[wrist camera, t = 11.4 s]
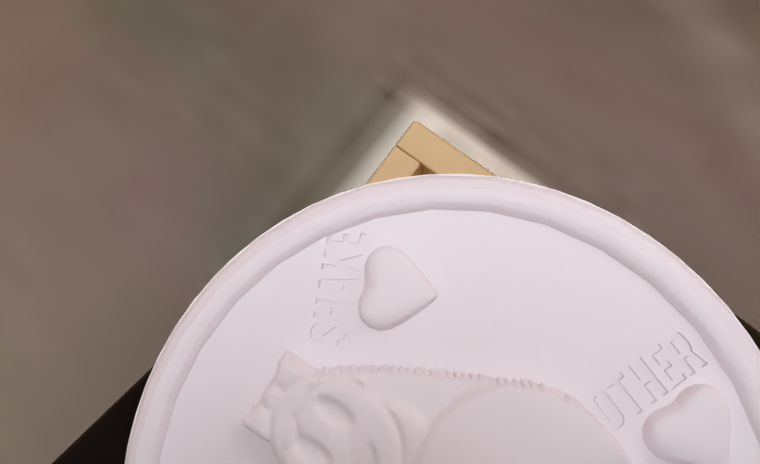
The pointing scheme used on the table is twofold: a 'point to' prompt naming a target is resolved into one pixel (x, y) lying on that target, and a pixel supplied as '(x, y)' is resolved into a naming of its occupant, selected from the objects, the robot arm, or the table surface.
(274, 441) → the smoothie
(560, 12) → the table surface
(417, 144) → the tray
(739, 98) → the table surface
